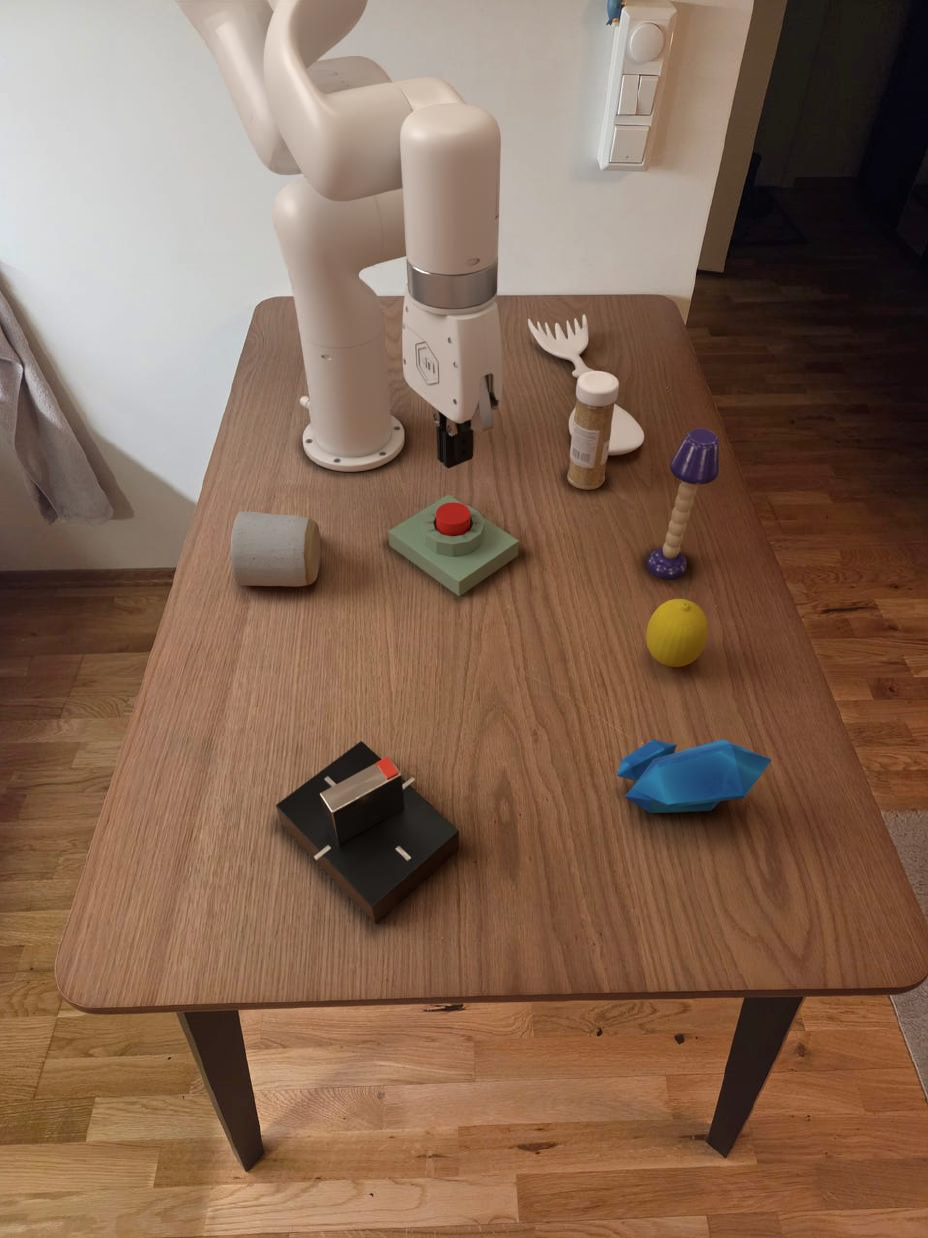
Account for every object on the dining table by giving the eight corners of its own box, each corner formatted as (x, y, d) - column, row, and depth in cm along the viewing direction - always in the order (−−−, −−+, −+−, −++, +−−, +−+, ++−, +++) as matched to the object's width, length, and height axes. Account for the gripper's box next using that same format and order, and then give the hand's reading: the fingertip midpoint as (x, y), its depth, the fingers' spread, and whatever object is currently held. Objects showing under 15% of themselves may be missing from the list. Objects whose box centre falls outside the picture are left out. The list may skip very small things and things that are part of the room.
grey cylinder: (317, 601, 89) (308, 544, 83) (237, 600, 89) (223, 544, 83) (328, 534, 96) (320, 478, 90) (255, 533, 96) (242, 477, 90)
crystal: (605, 724, 70) (752, 692, 69) (615, 778, 76) (750, 750, 75) (625, 804, 65) (785, 771, 64) (634, 855, 71) (780, 826, 70)
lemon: (663, 691, 81) (679, 634, 75) (629, 651, 84) (641, 594, 78) (709, 670, 83) (728, 613, 77) (674, 632, 86) (690, 575, 80)
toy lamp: (659, 545, 95) (689, 416, 83) (698, 562, 93) (735, 432, 81) (639, 569, 92) (667, 440, 80) (679, 587, 90) (714, 457, 78)
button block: (389, 545, 95) (387, 517, 92) (448, 508, 99) (447, 481, 96) (459, 596, 89) (459, 569, 86) (518, 555, 94) (520, 527, 91)
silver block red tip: (338, 846, 67) (331, 811, 63) (326, 826, 68) (318, 791, 64) (405, 808, 69) (401, 772, 65) (392, 790, 70) (388, 754, 66)
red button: (429, 525, 91) (428, 512, 90) (453, 510, 93) (453, 497, 92) (452, 541, 90) (452, 529, 88) (477, 525, 91) (477, 513, 90)
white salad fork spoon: (584, 332, 126) (586, 310, 124) (652, 463, 105) (656, 439, 102) (524, 337, 125) (525, 315, 123) (580, 470, 104) (583, 447, 101)
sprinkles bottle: (612, 483, 102) (628, 383, 92) (582, 496, 101) (595, 396, 91) (587, 463, 105) (601, 364, 95) (558, 476, 103) (568, 376, 93)
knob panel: (274, 828, 71) (268, 808, 69) (369, 755, 76) (366, 735, 74) (369, 930, 65) (365, 912, 63) (464, 844, 70) (464, 824, 68)
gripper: (368, 257, 74) (383, 436, 87) (466, 326, 66) (467, 513, 79) (440, 236, 77) (445, 413, 90) (543, 299, 69) (531, 484, 82)
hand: (455, 459), depth 85 cm, fingers closed
